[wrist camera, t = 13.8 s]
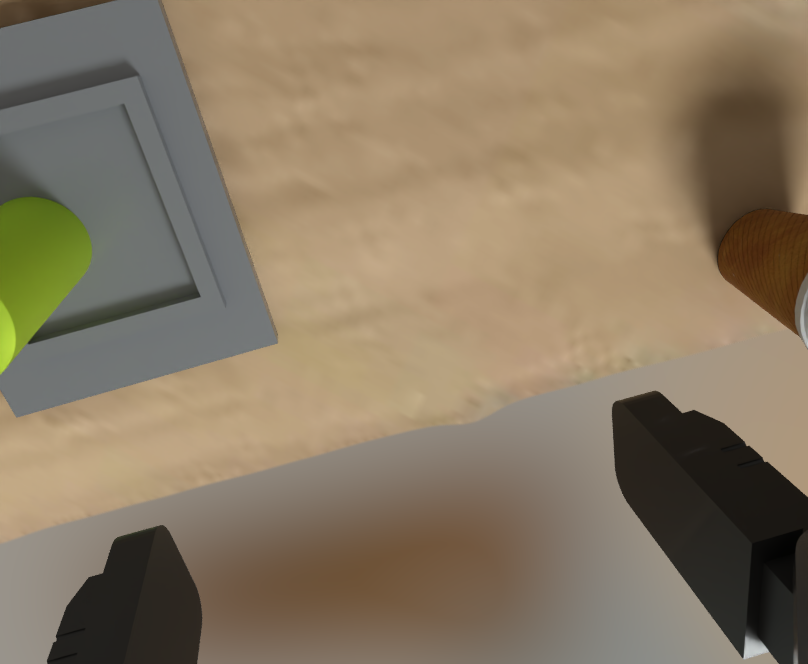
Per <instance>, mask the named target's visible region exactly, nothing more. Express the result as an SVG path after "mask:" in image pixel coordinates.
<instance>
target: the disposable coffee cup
mask: <svg viewBox="0 0 808 664" xmlns="http://www.w3.org/2000/svg"><path fill="white" fill-rule="evenodd" d="M718 265H719V270H720V272H721V274H722V276H723V277H724V278H725V280H726V281H728V282H729V283H730V284H732V285H733V286H735V287H736V288H737V289H738V290H740V291H741V292H742V293H744V294H745V295H746V296H747V297H749V298H750V299H751V300H753V301H754V302H755V303H756V304H758V305H759V306H760V307H762V308H763V309H764V310H765V311H767V312H768V313H769V314H771V315H772V316H773V317H775V318H776V319H777V320H778V321H780V322H781V323H782V324H783V325H785V326H786V327H787V328H789V329H790V330H792V331H793V332H794V333H795V334H797V335H798V336H799V337H800V338H801V339H802V340H803V342H804V344H805V346H806V348H807V349H808V215H804V214H797V213H790V212H784V211H777V210H772V209H760V210H756V211H752V212H750V213H748V214H746V215H745V216H743V217H742V218H740V219H739V220H738V221H737V222H735V223H734V224H733V225H732V226H731V228H730V229H729V231H728V232H727V233H726V235H725V237H724V239H723V240H722V243H721V245H720V248H719V254H718Z"/></svg>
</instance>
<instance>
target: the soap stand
mask: <svg viewBox="0 0 808 664" xmlns="http://www.w3.org/2000/svg"><path fill="white" fill-rule="evenodd" d="M22 197H39V198H44V199H48V200H51V201H54V202H56V203H58V204H60V205H62V206H64V207H65V208H67V209H68V210H70V211H71V212H72V213H73V214H74V215H76V216H77V217H78V219H79V220H80V221H81V222H82V224H83V225H84V227H85V228H86V230H87V232H88V234H89V237H90V240H91V245H92V258H91V262H90V265H89V267H88V269H87V271H86V273H85V274H84V275H83V277H82V278H81V279H80V280H79V281H78V283H77V284H76V285H75V286H74V287H73V289H72V290H71V291H70V292H69V293H68V295H67V296H66V297H65V298H64V299H63V301H62V302H61V303H60V304H59V305H58V307H57V308H56V309H55V310H54V311H53V313H52V314H51V315H50V316H49V317H48V319H47V320H46V321H45V322H44V323H43V325H42V326H41V327H40V328H39V329H38V331H37V332H36V333H35V334H34V335H33V337H32V338H31V339H30V340H29V341H28V343H27V344H26V345H25V346H24V347H23V349H22V350H21V351H20V352H19V354H18V355H17V356H16V357H15V358H14V360H13V361H12V362H11V363H10V364H9V366H8V367H7V368H6V369H5V370H4V371H3V372H2V373H1V374H0V390H1V392H2V394H3V395H4V397H5V399H6V401H7V402H8V404H9V406H10V407H11V409H12V411H13V412H14V414H15V416H16V417H20V416H24V415H27V414H31V413H34V412H38V411H41V410H45V409H48V408H52V407H55V406H59V405H62V404H66V403H69V402H73V401H76V400H80V399H84V398H87V397H91V396H94V395H98V394H101V393H105V392H108V391H112V390H115V389H119V388H122V387H126V386H129V385H133V384H136V383H140V382H143V381H147V380H150V379H154V378H157V377H161V376H164V375H168V374H172V373H175V372H179V371H182V370H186V369H189V368H193V367H196V366H200V365H203V364H207V363H210V362H214V361H217V360H221V359H224V358H228V357H231V356H235V355H238V354H242V353H245V352H249V351H252V350H256V349H260V348H263V347H267V346H270V345H274V344H277V343H278V334H277V331H276V328H275V325H274V322H273V320H272V317H271V314H270V311H269V308H268V305H267V302H266V299H265V297H264V294H263V291H262V288H261V285H260V282H259V279H258V276H257V274H256V271H255V268H254V265H253V262H252V259H251V256H250V253H249V251H248V248H247V245H246V242H245V239H244V236H243V233H242V230H241V228H240V225H239V222H238V219H237V216H236V213H235V210H234V207H233V205H232V202H231V199H230V196H229V193H228V190H227V187H226V185H225V182H224V179H223V176H222V173H221V170H220V167H219V164H218V162H217V159H216V156H215V153H214V150H213V147H212V144H211V141H210V139H209V136H208V133H207V130H206V127H205V124H204V121H203V118H202V116H201V113H200V110H199V107H198V104H197V101H196V98H195V95H194V93H193V90H192V87H191V84H190V81H189V78H188V75H187V72H186V70H185V67H184V64H183V61H182V58H181V55H180V52H179V49H178V47H177V44H176V41H175V38H174V35H173V32H172V29H171V27H170V24H169V21H168V18H167V15H166V12H165V9H164V6H163V4H162V1H161V0H116V1H112V2H108V3H103V4H99V5H95V6H91V7H87V8H83V9H78V10H74V11H70V12H66V13H62V14H58V15H53V16H49V17H45V18H41V19H37V20H33V21H28V22H24V23H20V24H16V25H12V26H8V27H3V28H0V206H1V205H2V204H4V203H6V202H8V201H10V200H13V199H17V198H22Z"/></svg>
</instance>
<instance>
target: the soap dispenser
mask: <svg viewBox="0 0 808 664" xmlns="http://www.w3.org/2000/svg"><path fill="white" fill-rule="evenodd" d="M91 258H92V245H91V240H90V237H89V234H88V232H87V230H86V228H85V227H84V225H83V224H82V222H81V221H80V220H79V219H78V217H77V216H76V215H74V214H73V213H72V212H71V211H70V210H68V209H67V208H65V207H64V206H62V205H60V204H58V203H56V202H54V201H51V200H48V199H44V198H39V197H22V198H17V199H13V200H10V201H8V202H6V203H4V204H2V205H1V206H0V374H1V373H2V372H3V371H4V370H5V369H6V368H7V367H8V366H9V364H10V363H11V362H12V361H13V360H14V358H15V357H16V356H17V355H18V354H19V352H20V351H21V350H22V349H23V347H24V346H25V345H26V344H27V343H28V341H29V340H30V339H31V338H32V337H33V335H34V334H35V333H36V332H37V331H38V329H39V328H40V327H41V326H42V325H43V323H44V322H45V321H46V320H47V319H48V317H49V316H50V315H51V314H52V313H53V311H54V310H55V309H56V308H57V307H58V305H59V304H60V303H61V302H62V301H63V299H64V298H65V297H66V296H67V295H68V293H69V292H70V291H71V290H72V289H73V287H74V286H75V285H76V284H77V283H78V281H79V280H80V279H81V278H82V277H83V275H84V274H85V273H86V271H87V269H88V267H89V265H90V262H91Z"/></svg>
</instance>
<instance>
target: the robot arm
mask: <svg viewBox="0 0 808 664" xmlns="http://www.w3.org/2000/svg"><path fill="white" fill-rule="evenodd" d="M612 422H613V440H614V458H615V471H616V476H617V480H618V483H619V486H620V489H621V491H622V494H623V496H624V497H625V499H626V501H627V503H628V504H629V505H630V507H631V508H632V510H633V511H634V512H635V514H636V515H637V516H638V518H639V519H640V520H641V522H642V523H643V524H644V526H645V527H646V528H647V530H648V531H649V532H650V534H651V535H652V537H653V538H654V539H655V541H656V542H657V543H658V545H659V546H660V547H661V549H662V550H663V551H664V553H665V554H666V555H667V557H668V558H669V559H670V561H671V562H672V563H673V565H674V566H675V568H676V569H677V570H678V572H679V573H680V574H681V576H682V577H683V578H684V580H685V581H686V582H687V584H688V585H689V586H690V588H691V589H692V591H693V592H694V593H695V595H696V596H697V597H698V599H699V600H700V601H701V603H702V604H703V605H704V607H705V608H706V609H707V611H708V612H709V613H710V615H711V616H712V617H713V619H714V620H715V621H716V623H717V624H718V626H719V627H720V628H721V630H722V631H723V632H724V634H725V635H726V636H727V638H728V639H729V640H730V642H731V643H732V644H733V646H734V647H735V649H736V650H737V651H738V652H739V654H740V655H741V657H742V658H743V659H747V658H750V657H753V656H756V655H760V654H763V653H766V652H770V653H771V654H772V655H773V657H774V658H775V659H776V660H777V662H778V663H779V664H808V497H807V496H806V495H805V494H803V493H802V492H801V491H800V490H799V489H798V488H797V487H795V486H794V485H793V484H792V483H791V482H790V481H789V480H788V479H786V478H785V477H784V476H783V475H782V474H781V473H780V472H778V471H777V470H776V469H775V468H774V467H773V466H771V465H770V464H769V463H768V462H764V461H763V458H762V457H761V456H760V455H759V454H758V453H757V452H756V451H755V450H753V449H752V448H751V447H750V446H746V444H745V442H744V441H743V440H742V439H741V438H740V437H739V436H737V435H736V434H735V433H734V432H733V431H732V430H731V429H730V428H728V427H727V426H726V425H725V424H724V423H722V422H720V421H718V420H715V419H713V418H711V417H709V416H706V415H704V414H702V413H700V412H698V411H695V410H692V411H689V412H685V413H681V412H680V411H679V410H678V409H677V408H676V407H675V406H674V405H673V404H672V403H671V402H670V401H669V400H668V399H667V398H666V397H664V396H663V395H662V394H661V393H660V392H658V391H652V392H648V393H645V394H641V395H637V396H634V397H630V398H626V399H623V400H619V401H616V402H615V403H614V404H613V407H612ZM201 628H202V609H201V603H200V597H199V594H198V590H197V588H196V585H195V583H194V581H193V579H192V577H191V575H190V573H189V571H188V569H187V567H186V565H185V563H184V561H183V559H182V556H181V554H180V552H179V550H178V548H177V546H176V544H175V542H174V540H173V538H172V536H171V534H170V532H169V531H168V530H167V528H166V527H165V526H163V525H160V526H156V527H153V528H149V529H146V530H142V531H138V532H134V533H131V534H127V535H124V536H120V537H117V538H116V539H115V540H114V542H113V544H112V547H111V550H110V553H109V556H108V559H107V562H106V565H105V569H104V572H103V574H99V575H95V576H92V577H89V578H88V579H87V580H86V582H85V583H84V584H83V586H82V587H81V588H80V589H79V591H78V592H77V593H76V595H75V596H74V597H73V599H72V600H71V601H70V603H69V604H68V605H67V607H66V610H65V612H64V615H63V618H62V621H61V624H60V626H59V629H58V632H57V635H56V638H57V641H56V642H54V643H53V645H52V649H51V651H50V654H49V657H48V659H47V663H48V664H197V660H198V652H199V643H200V636H201Z"/></svg>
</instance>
